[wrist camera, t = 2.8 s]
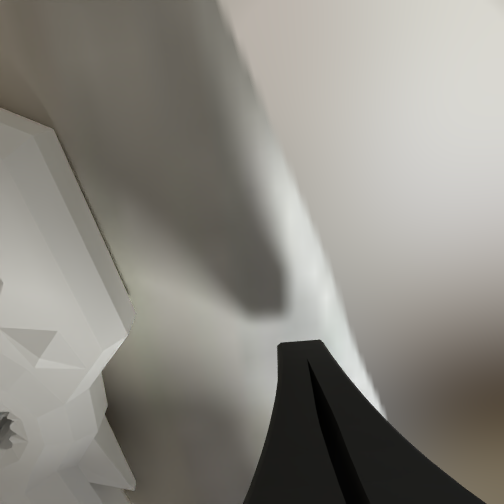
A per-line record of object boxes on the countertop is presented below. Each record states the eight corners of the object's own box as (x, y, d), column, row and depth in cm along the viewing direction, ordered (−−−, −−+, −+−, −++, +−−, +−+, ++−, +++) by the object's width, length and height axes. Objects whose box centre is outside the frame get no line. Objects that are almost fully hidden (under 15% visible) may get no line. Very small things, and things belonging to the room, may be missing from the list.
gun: (222, 567, 15) (-21, 612, 15) (224, 480, 18) (22, 520, 18) (-51, 35, 7) (-518, 171, 8) (38, 46, 10) (-298, 141, 11)
